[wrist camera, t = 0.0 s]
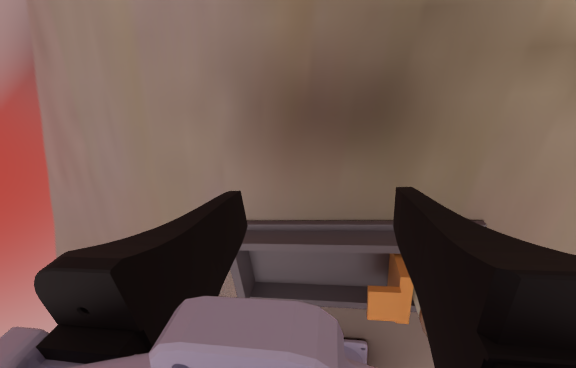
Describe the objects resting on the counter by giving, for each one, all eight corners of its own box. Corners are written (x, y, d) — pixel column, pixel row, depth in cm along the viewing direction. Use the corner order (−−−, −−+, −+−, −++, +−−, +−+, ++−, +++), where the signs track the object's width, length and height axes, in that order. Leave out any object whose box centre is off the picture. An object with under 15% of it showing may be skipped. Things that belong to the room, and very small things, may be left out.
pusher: (398, 286, 26) (410, 330, 21) (361, 285, 26) (367, 327, 22) (402, 243, 23) (417, 283, 19) (362, 243, 24) (368, 282, 20)
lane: (463, 297, 26) (481, 331, 23) (250, 287, 30) (240, 315, 27) (482, 220, 22) (508, 248, 19) (235, 221, 26) (221, 244, 23)
